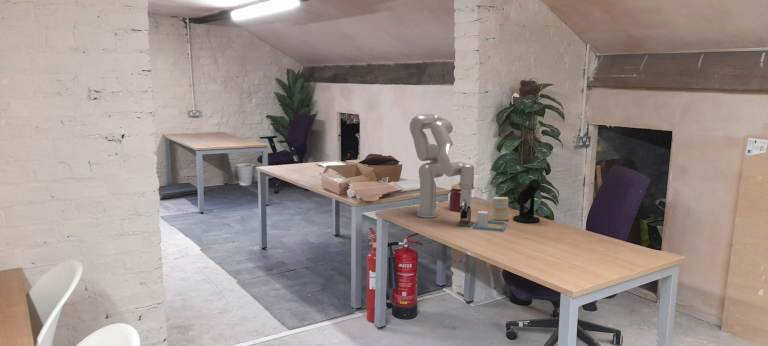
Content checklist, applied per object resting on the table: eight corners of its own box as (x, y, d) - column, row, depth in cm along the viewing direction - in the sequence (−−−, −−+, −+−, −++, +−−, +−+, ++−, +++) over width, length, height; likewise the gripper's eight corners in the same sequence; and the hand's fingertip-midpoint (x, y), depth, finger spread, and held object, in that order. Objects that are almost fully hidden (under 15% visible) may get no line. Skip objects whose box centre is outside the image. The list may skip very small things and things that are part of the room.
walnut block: (460, 223, 309) (460, 209, 308) (461, 221, 314) (462, 207, 312) (468, 224, 307) (469, 210, 306) (470, 222, 312) (471, 208, 311)
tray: (472, 228, 302) (472, 225, 302) (476, 222, 316) (476, 219, 316) (503, 231, 297) (503, 228, 297) (506, 224, 311) (506, 222, 310)
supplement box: (506, 218, 324) (507, 196, 322) (507, 220, 319) (508, 198, 317) (492, 218, 325) (493, 196, 323) (493, 220, 320) (494, 198, 318)
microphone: (525, 225, 310) (528, 181, 305) (506, 218, 325) (508, 176, 321) (546, 222, 316) (549, 179, 311) (527, 215, 331) (529, 174, 327)
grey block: (477, 226, 306) (477, 212, 305) (478, 224, 311) (479, 210, 310) (486, 227, 305) (486, 213, 303) (487, 225, 309) (488, 211, 308)
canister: (472, 208, 349) (473, 180, 346) (466, 212, 337) (467, 184, 334) (452, 206, 354) (453, 179, 351) (446, 210, 343) (447, 182, 340)
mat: (456, 225, 307) (456, 224, 307) (460, 221, 317) (460, 220, 317) (470, 227, 305) (470, 225, 305) (474, 222, 314) (474, 221, 314)
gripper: (462, 182, 316) (462, 212, 319) (456, 188, 300) (455, 219, 303) (476, 183, 314) (474, 213, 317) (470, 189, 298) (469, 220, 301)
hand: (465, 216), depth 310 cm, fingers open, 9 cm apart
